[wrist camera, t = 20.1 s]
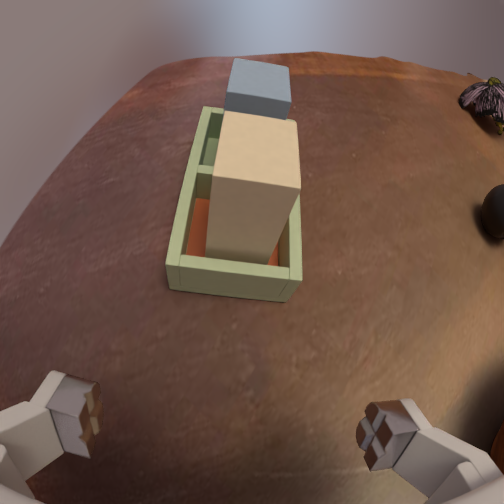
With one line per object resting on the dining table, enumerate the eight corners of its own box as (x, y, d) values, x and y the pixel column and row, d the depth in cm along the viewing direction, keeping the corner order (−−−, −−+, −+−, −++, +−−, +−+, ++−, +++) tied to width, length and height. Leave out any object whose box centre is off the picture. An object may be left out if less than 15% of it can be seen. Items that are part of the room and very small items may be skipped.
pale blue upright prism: (214, 185, 25) (226, 91, 18) (221, 144, 28) (234, 57, 20) (263, 192, 26) (291, 101, 18) (265, 151, 28) (288, 66, 20)
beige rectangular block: (204, 267, 21) (212, 175, 14) (212, 207, 24) (224, 110, 16) (262, 274, 22) (301, 188, 14) (265, 214, 24) (296, 122, 17)
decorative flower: (489, 65, 45) (542, 95, 35) (483, 109, 54) (531, 143, 44) (450, 66, 44) (510, 99, 34) (446, 117, 53) (498, 155, 43)
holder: (169, 289, 21) (165, 264, 18) (201, 137, 29) (203, 106, 26) (286, 303, 22) (302, 280, 19) (284, 150, 30) (294, 120, 27)
